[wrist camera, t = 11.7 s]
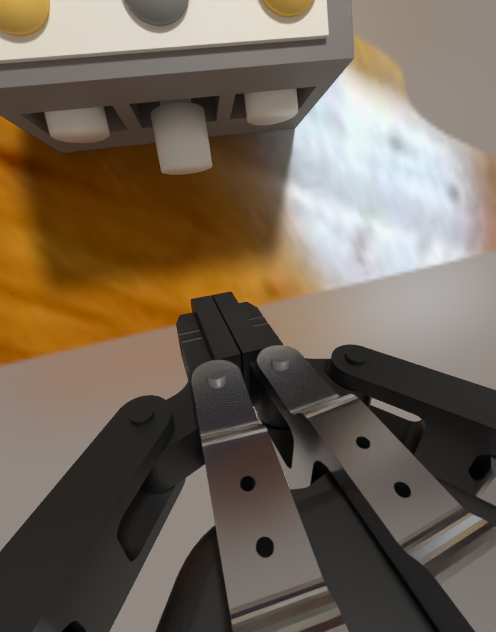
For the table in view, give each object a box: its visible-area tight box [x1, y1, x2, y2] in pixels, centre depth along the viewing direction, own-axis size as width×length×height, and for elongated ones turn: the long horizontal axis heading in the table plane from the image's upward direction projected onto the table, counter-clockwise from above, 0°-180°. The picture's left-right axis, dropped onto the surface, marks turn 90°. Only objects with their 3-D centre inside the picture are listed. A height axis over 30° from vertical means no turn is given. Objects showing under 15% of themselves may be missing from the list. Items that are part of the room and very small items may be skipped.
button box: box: [0, 0, 354, 153], centre depth 21 cm, size 20×9×12 cm, turn 98°
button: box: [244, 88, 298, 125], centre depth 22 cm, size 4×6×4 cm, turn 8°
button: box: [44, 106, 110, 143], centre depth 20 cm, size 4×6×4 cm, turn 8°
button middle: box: [150, 98, 212, 175], centre depth 22 cm, size 4×6×4 cm, turn 8°
